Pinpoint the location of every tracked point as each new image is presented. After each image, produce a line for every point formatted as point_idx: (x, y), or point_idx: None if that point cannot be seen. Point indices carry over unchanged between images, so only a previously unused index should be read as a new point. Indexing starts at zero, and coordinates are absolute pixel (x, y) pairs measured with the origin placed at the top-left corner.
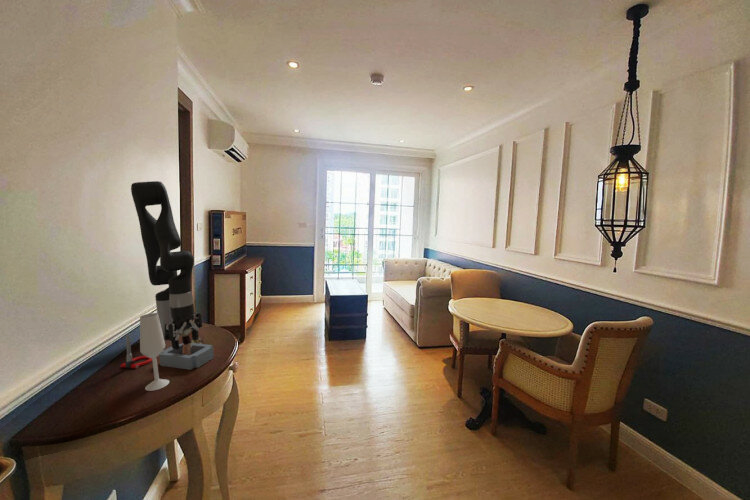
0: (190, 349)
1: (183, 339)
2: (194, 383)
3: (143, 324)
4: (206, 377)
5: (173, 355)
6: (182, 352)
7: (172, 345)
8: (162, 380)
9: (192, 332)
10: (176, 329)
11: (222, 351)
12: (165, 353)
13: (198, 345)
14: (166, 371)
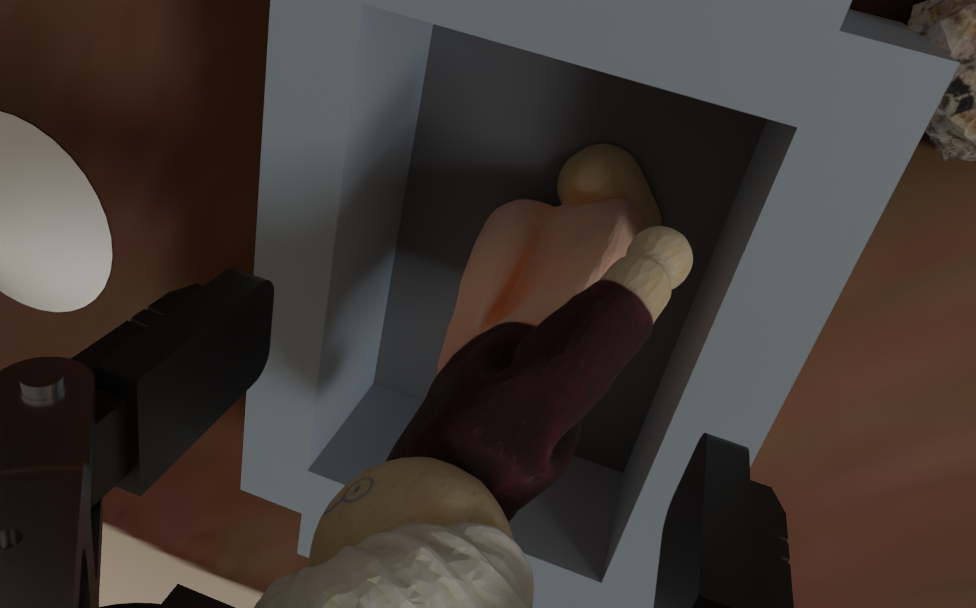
0: (723, 255)
1: (419, 423)
2: (130, 516)
3: None
4: (223, 573)
5: (274, 229)
6: (469, 263)
7: (139, 327)
8: (17, 275)
9: (687, 583)
10: (63, 596)
11: (802, 585)
12: (325, 9)
13: (670, 460)
14: (251, 126)
